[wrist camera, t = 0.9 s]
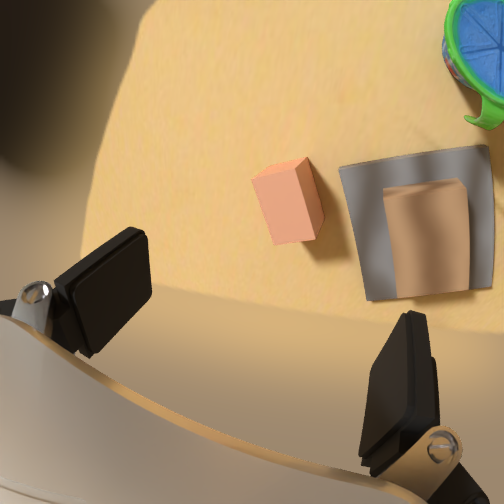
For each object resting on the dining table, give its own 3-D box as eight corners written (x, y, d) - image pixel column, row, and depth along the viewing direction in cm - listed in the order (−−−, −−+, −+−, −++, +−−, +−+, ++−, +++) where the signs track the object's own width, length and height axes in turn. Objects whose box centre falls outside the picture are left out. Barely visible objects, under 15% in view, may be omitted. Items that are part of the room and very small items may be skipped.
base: (484, 144, 25) (501, 154, 21) (488, 279, 32) (498, 305, 27) (339, 166, 34) (333, 179, 29) (367, 294, 40) (363, 320, 36)
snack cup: (436, -17, 18) (453, -51, 9) (517, 23, 15) (556, 8, 7) (414, 100, 26) (430, 102, 18) (494, 137, 24) (532, 157, 16)
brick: (307, 156, 35) (294, 168, 30) (325, 217, 38) (315, 239, 33) (269, 165, 37) (251, 179, 32) (288, 224, 40) (273, 245, 35)
